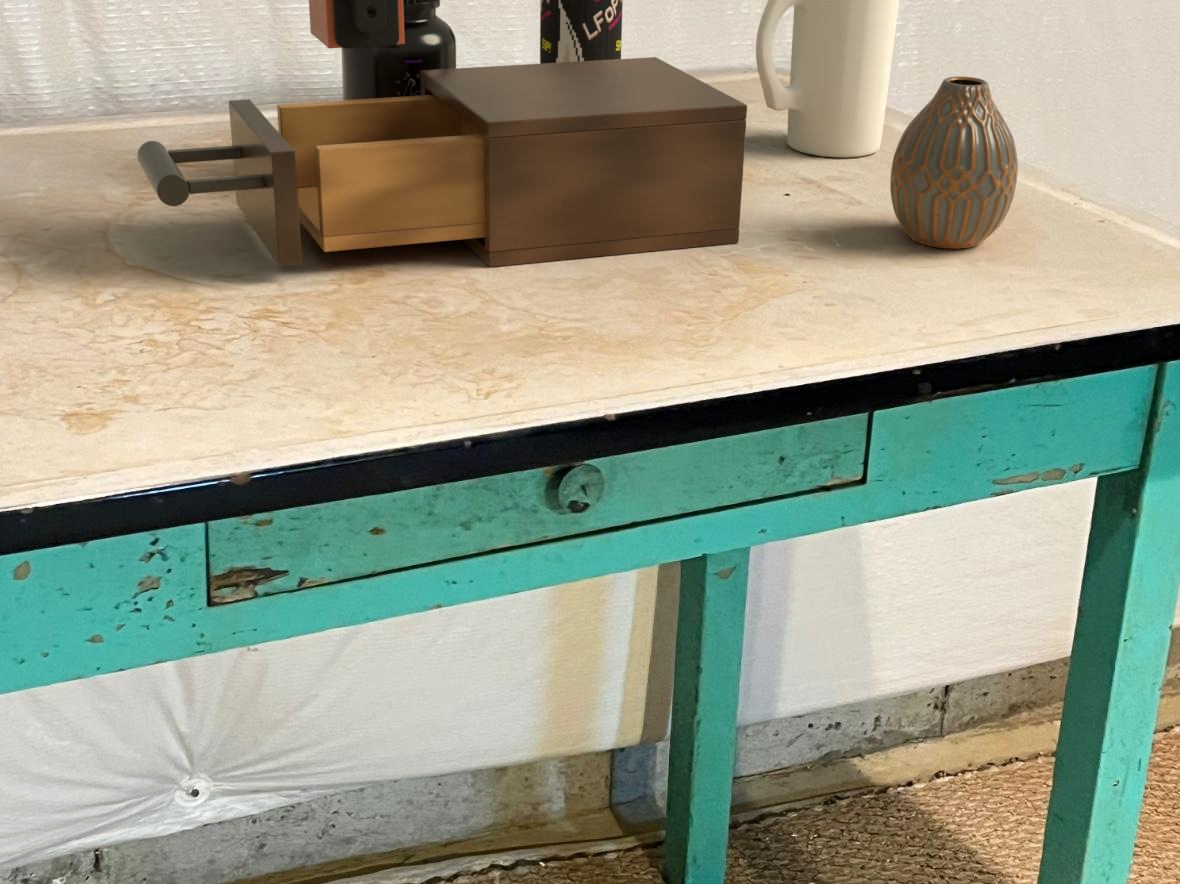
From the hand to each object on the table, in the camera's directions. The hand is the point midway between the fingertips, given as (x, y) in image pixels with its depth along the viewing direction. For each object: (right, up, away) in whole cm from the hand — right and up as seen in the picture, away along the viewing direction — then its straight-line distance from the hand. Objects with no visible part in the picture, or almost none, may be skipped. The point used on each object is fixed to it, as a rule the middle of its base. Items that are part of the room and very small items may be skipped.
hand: (355, 32), depth 88 cm
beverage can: (+11, +6, +34) cm, 36 cm away
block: (0, 0, 0) cm, 0 cm away
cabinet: (+11, -8, +9) cm, 17 cm away
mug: (+27, +1, +25) cm, 37 cm away
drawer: (-2, -9, +4) cm, 10 cm away
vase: (+32, -9, +8) cm, 35 cm away
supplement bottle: (0, -3, +17) cm, 17 cm away
